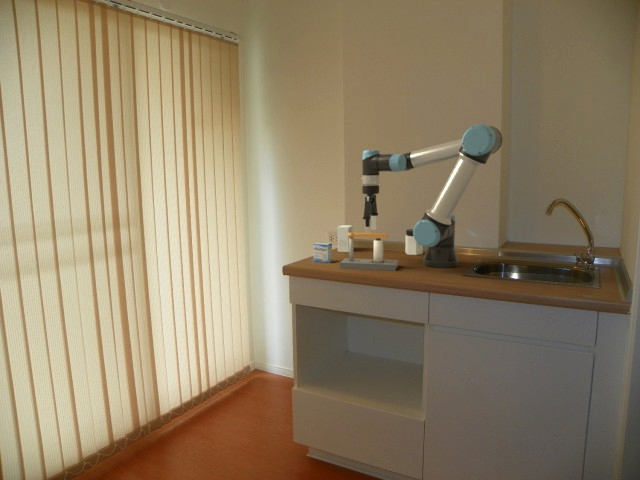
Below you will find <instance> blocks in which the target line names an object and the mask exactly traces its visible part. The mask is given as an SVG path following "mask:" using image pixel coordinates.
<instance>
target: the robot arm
mask: <svg viewBox="0 0 640 480" xmlns="http://www.w3.org/2000/svg"><path fill="white" fill-rule="evenodd" d="M503 140H504V139H503V134H502V133H501V130H499V129H498V128H497V127H496V126H492V125H487V124H486V123H485V124H484V123H481V124H479V123H478V124H475V125H472V126H470V127H469V128H468V129H466V131H464V133H463V136H462V138H460V139H456V140H451V141H448V142H444V143H440V144H436V145H433V146H429V147H425V148H421V149H418V150H413V151H409V152H406V153H387V154H385V153H384V154H383V153H382V154H381V153H380V151H379V150H378V149H365V150H362V158H361V159H362V160H361V161H362V162H361V163H362V165H361V167H362V177H361V178H360V179H361V180H362V187H361V188H362V189H361V190H362V194H364V195H366V196H364V210H363V211H364V212H363V216H362V220H364V233H372V231H373V230H374V231H376V230H377V216H379V213H378V207H377V205H378V204H377V195H378V194H380V185H379V184H380V172H392V173H393V172H394V173H397V172H398V173H399V172H407V171H410V170H413V169H418V168H422V167H425V166H430V165H434V164H437V163H442V162H447V161H451V160H455V159H457V161H456V163H455V165H454V167H453V168H452V169H451V172H450V174H449V175H448V178H447V179H446V181H445V183H444V185H443V186H442V189H441V190H440V192H439V193H438V196H437V198H436V200H435V201H434V203H433V205H432V207H431V208H429V209H426V210H425V212H424V214H423V215H422V217H421V220H418V222H417V223H415V224H414V226H413V228H412V229H413V236H414V239H415V241H416V242H417V243H418V244H419V245H421V246H423V248H426V250H425V254H424V256H423V260H422V261H423V265H425V266H426V267H431V268H442V269H443V268H445V269H446V268H454V267H457V266H459V265H458V264H459V259H458V255H457V251H456V250H455V238H456V237H455V236H456V235H455V234H456V233H455V232H456V231H455V230H456V217H455V215H454V212H455V210H456V208H457V207H458V205H459V203H460V201H461V200H462V198H463V196H464V195H465V193H466V191H467V189H468V188H469V186H470V184H471V182H472V180H473V178H474V176H475V175H476V173H477V172H478V169H479V168H480V167H483V166H485V165H486V164H487V162H488V160H490V156H492V155H493V154H496V153H497V152H499V150H500V149H501V147H502V145H503Z"/></svg>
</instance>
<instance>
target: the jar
mask: <svg viewBox="0 0 640 480" xmlns="http://www.w3.org/2000/svg"><path fill="white" fill-rule="evenodd" d="M404 239H405V241H404V242H405V244H404V245H405V249H404V250H405V251H404V252H405V254H406V255H408V256H409V255H410V256H418V255H423V253H424V247H423V246H421V245H419V244H418V243H417V242H416V241H415V239H414V236H413V228H409V229H406V230H405V238H404Z"/></svg>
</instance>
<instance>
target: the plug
mask: <svg viewBox="0 0 640 480" xmlns="http://www.w3.org/2000/svg"><path fill="white" fill-rule="evenodd" d="M372 243H373V248H372V249H373V252H372V253H373V258H372V259H373V263H383V260H384V239H382V238H375V239H373V241H372Z"/></svg>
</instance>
